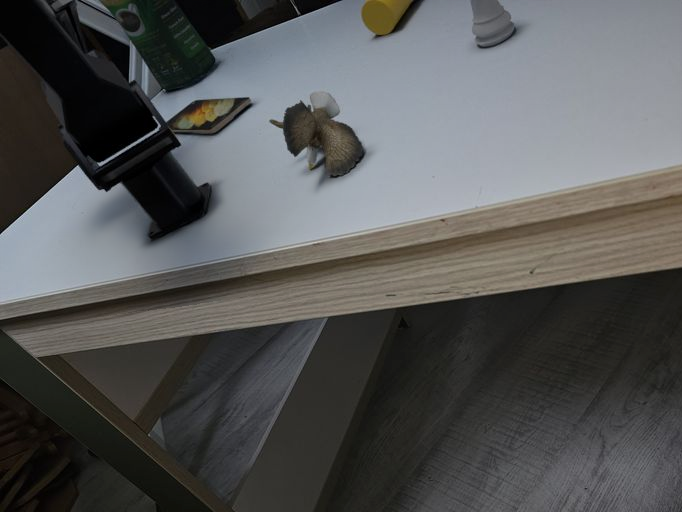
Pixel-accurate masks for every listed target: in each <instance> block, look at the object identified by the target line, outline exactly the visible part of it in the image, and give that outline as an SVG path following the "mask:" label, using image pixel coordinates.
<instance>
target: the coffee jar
mask: <svg viewBox="0 0 682 512" xmlns="http://www.w3.org/2000/svg"><path fill="white" fill-rule="evenodd" d="M98 2H100V3H101V5H103V7H104V8H106V10H107V11H108V12H110V14H111V15H112V17H114V19H115V20H116V22H117V23H118V24H119V26H120V27H121V29H122V30H123V32H124V33H125V34H126V36H127V38H128V39H129V41H130V42H131V44H132V45H133V47H134V48H135V50H136V51H137V53H138V54H139V56H140V57H141V59H142V60H143V62H144V64H145V65H146V67H147V69H148V70H149V72H150V73H151V74H152V76H153V78H154V79H155V80H156V82H157V84H158V85H159V86H160V88H161V89H162V90H164V91H171V90H176V89H181V88H184V87H186V86H188V85H191V84H193V83H194V82H195V81H196V80H198V79H200V78H201V77H206V76H207V75H208V74H209V73H210V72H211V71H213V68H214V66H215V64H216V62H217V59H216V57H215V55H214V54H213V52H212V51H211V50H210V48H209V46H208V45H207V43H206V42H205V41H204V40H203V38H202V37H201V35H200V34H199V33H198V31H197V30H196V29H195V27H194V26H193V24H192V23H191V22H190V20H189V19H188V17H187V16H186V14H185V13H184V11H183V10H182V9H181V7H180V6H179V5H178V2H177V1H176V0H98Z"/></svg>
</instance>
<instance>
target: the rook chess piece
mask: <svg viewBox="0 0 682 512" xmlns="http://www.w3.org/2000/svg"><path fill="white" fill-rule="evenodd" d="M469 2H470V6H471V11H472V26H471V32H472V35H474V36H475V37H474V43H475V44H477V45H479V46H480V47H482V48H483V47H484V48H486V47H493V46H495V45H498V44H501V43H502V42H504V41H505V40H507V39H508V38H510V37H511V36H512V34H513V33H514V30H515V26H516V24H515V22H513V21H511V20H512V14H511V13H510V12H509V11H508V10H506V9H505V7H504V6H503V5H502V4H501V2H499V0H469Z"/></svg>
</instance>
